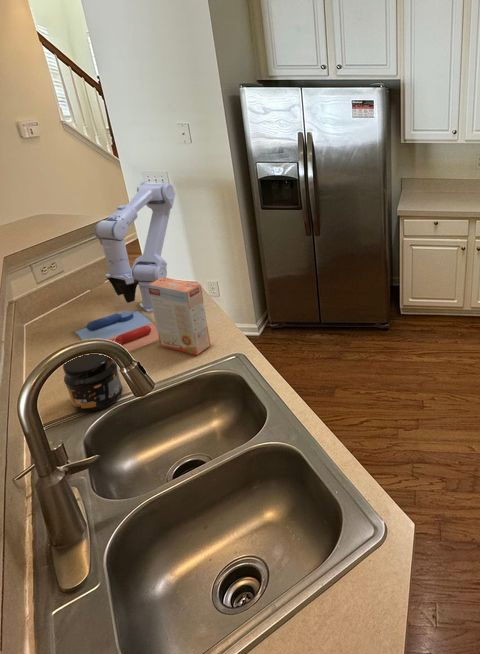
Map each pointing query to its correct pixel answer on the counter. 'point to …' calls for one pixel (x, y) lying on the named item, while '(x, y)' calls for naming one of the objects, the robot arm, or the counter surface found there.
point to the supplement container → (92, 382)
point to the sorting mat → (124, 331)
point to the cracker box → (179, 315)
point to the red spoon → (132, 335)
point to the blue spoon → (110, 320)
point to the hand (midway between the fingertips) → (126, 297)
